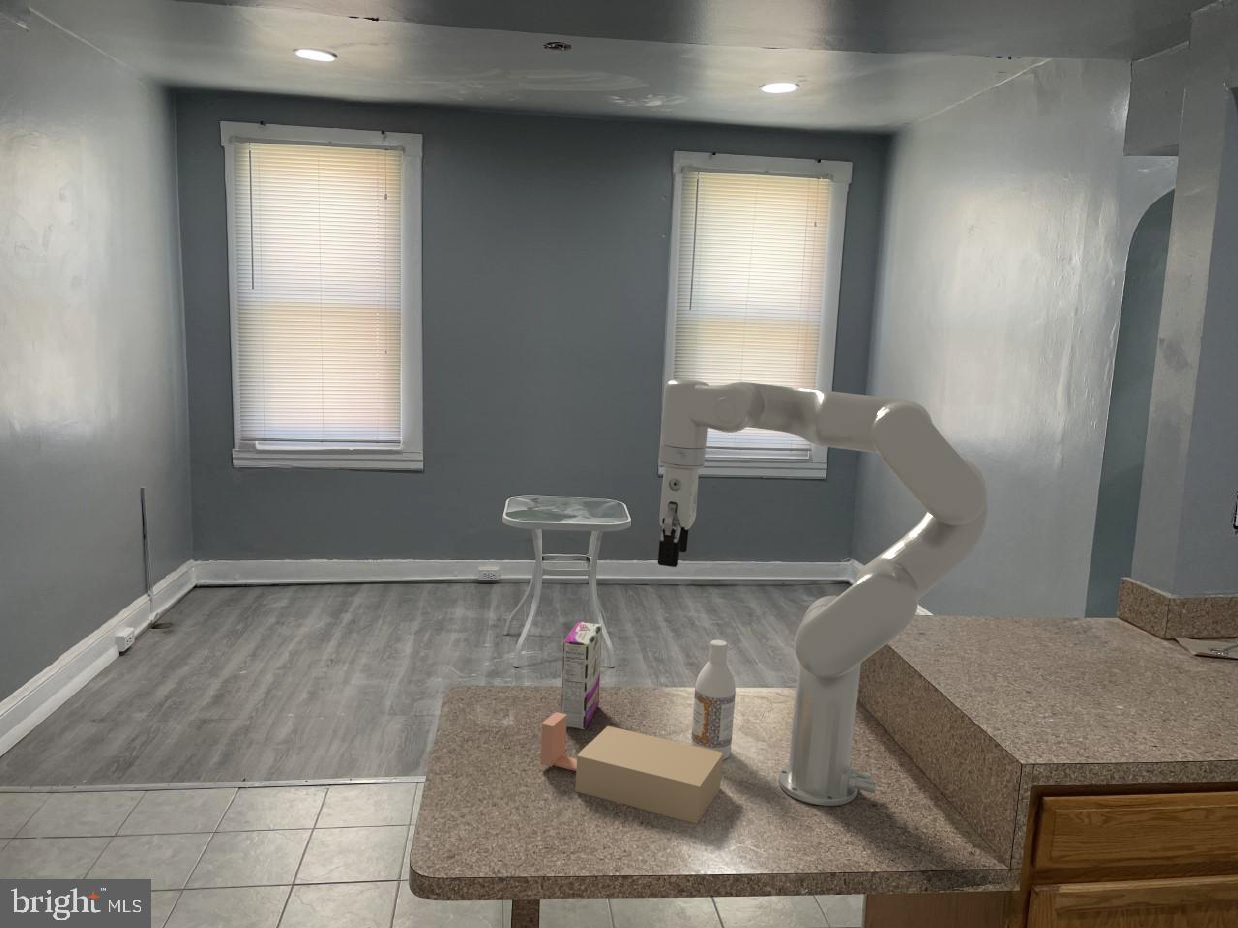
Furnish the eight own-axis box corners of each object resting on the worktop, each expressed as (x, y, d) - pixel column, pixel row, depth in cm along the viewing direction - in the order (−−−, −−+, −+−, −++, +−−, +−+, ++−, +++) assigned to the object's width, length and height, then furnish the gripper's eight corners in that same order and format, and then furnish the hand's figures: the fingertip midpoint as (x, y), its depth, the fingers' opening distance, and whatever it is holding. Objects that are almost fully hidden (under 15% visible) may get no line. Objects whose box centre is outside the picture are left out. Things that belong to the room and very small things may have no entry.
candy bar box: (573, 702, 178) (577, 620, 176) (599, 706, 177) (603, 623, 175) (558, 727, 167) (562, 640, 165) (585, 730, 166) (589, 643, 164)
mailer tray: (714, 784, 148) (717, 742, 147) (694, 814, 139) (697, 769, 138) (560, 745, 158) (562, 706, 157) (532, 771, 149) (534, 729, 148)
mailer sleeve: (720, 787, 149) (723, 752, 148) (697, 823, 138) (700, 786, 137) (605, 759, 156) (607, 725, 155) (575, 791, 145) (577, 755, 144)
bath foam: (683, 746, 163) (691, 637, 159) (718, 741, 165) (726, 633, 162) (702, 764, 156) (710, 651, 153) (738, 759, 159) (747, 647, 156)
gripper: (697, 466, 142) (687, 574, 145) (711, 451, 159) (701, 548, 161) (649, 461, 143) (640, 568, 146) (667, 446, 160) (659, 543, 163)
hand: (672, 557), depth 154 cm, fingers open, 9 cm apart
